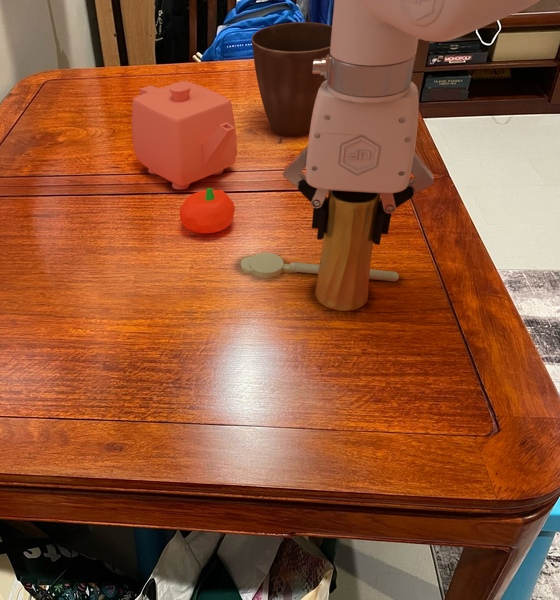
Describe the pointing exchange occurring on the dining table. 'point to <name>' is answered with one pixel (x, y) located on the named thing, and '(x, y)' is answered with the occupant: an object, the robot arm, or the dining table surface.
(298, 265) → the spoon
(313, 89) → the flower pot
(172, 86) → the teapot
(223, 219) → the pumpkin
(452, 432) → the dining table surface
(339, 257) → the vase
